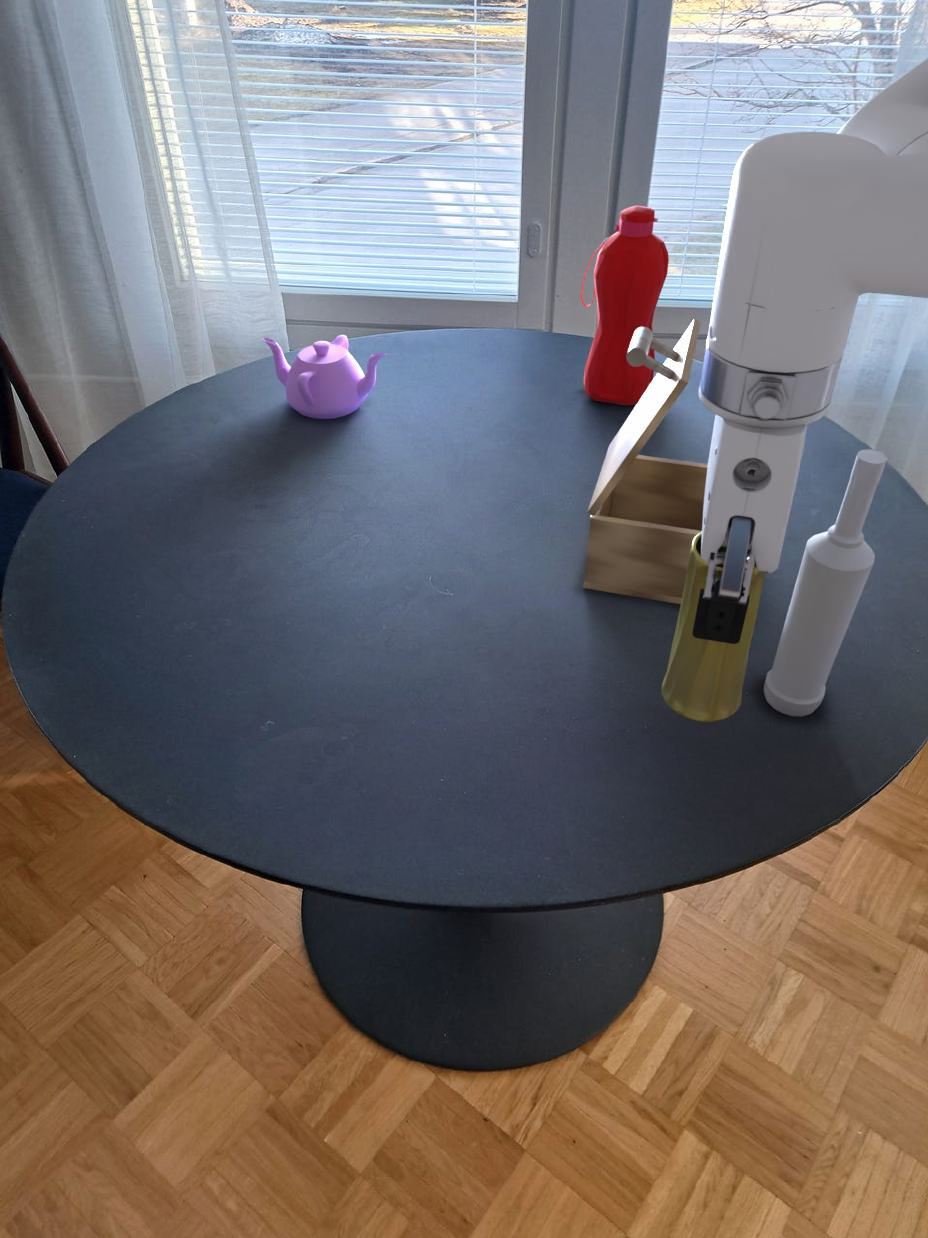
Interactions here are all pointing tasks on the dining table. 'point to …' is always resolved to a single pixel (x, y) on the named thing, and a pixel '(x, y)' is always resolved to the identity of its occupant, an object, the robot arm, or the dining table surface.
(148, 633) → the dining table surface
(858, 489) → the bottle
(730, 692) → the vase
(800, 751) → the dining table surface
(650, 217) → the water bottle
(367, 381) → the teapot
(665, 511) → the box
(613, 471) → the lid
